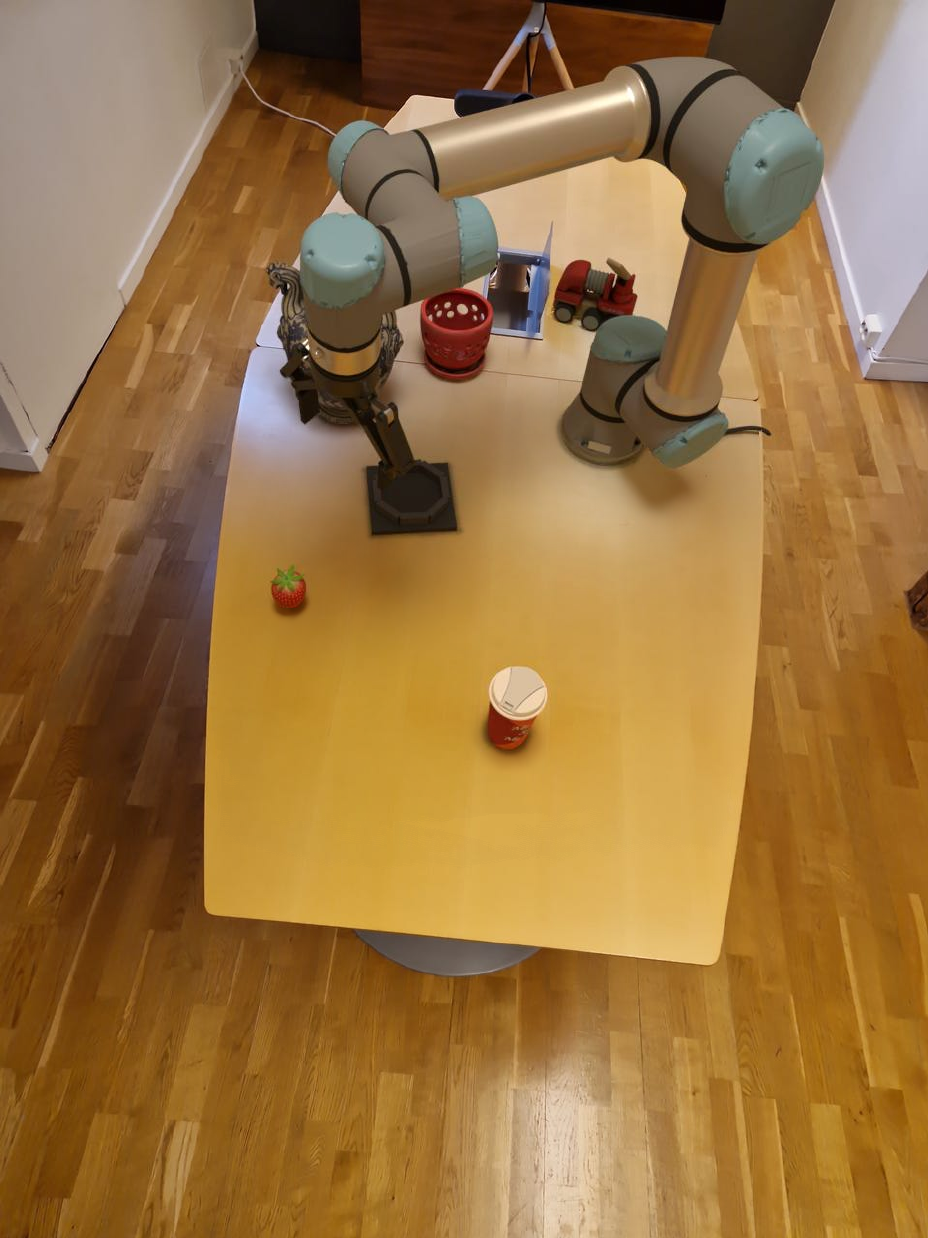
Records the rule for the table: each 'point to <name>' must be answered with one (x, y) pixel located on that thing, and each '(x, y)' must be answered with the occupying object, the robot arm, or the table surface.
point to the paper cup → (514, 705)
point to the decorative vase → (296, 330)
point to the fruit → (288, 588)
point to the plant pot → (456, 333)
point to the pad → (412, 501)
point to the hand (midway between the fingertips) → (348, 449)
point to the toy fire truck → (594, 294)
